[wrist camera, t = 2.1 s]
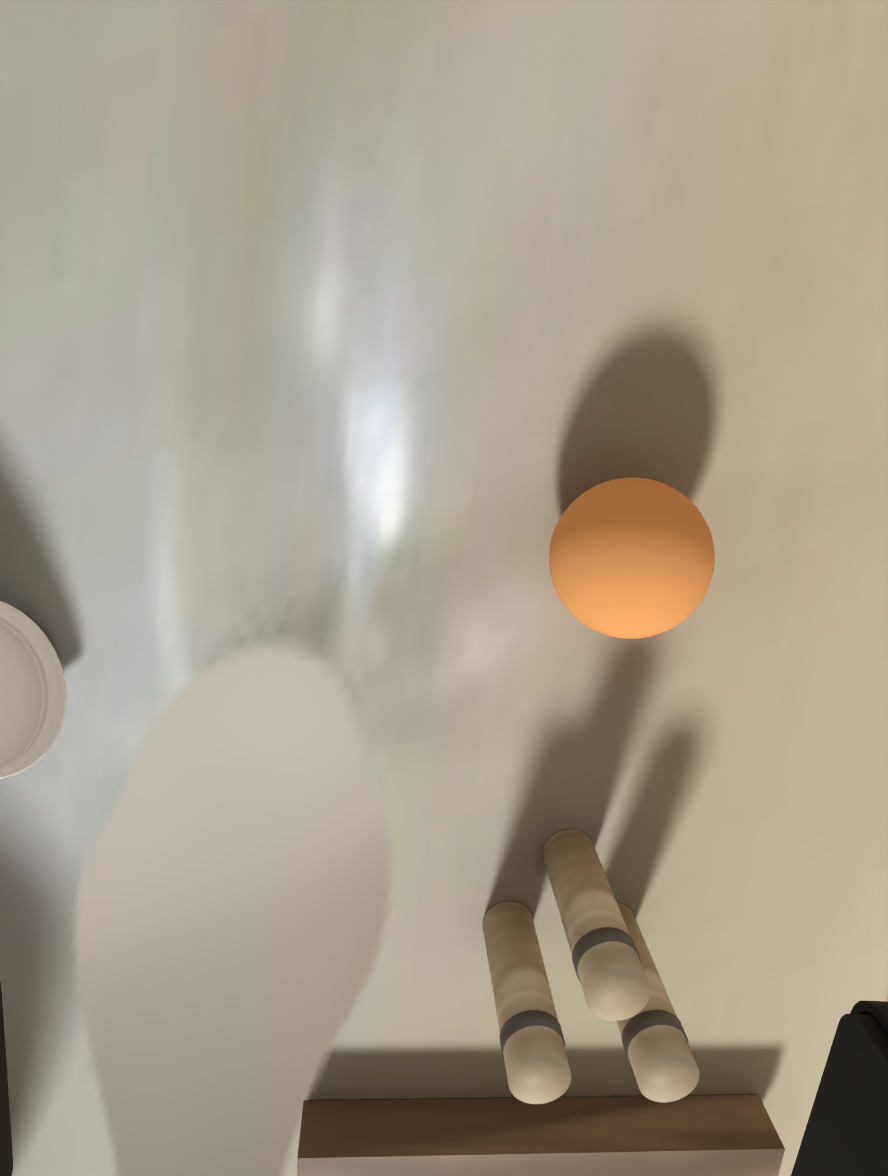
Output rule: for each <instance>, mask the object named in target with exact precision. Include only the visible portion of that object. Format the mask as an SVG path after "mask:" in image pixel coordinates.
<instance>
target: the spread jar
mask: <svg viewBox="0 0 888 1176" xmlns="http://www.w3.org/2000/svg"><path fill="white" fill-rule="evenodd" d="M65 707H66V686H65V678H64V674H63V670H62V666H61V663H60V661H59V658H58V656H57V654H56V651H55V649H54V647H53V646H52V644H51V643H50V641H49V639H48V638H47V636H46V635H45V634H44V632H43V631H42V630H41V629H40V628H39V627H38V626H37V625H36V623H35V622H34V621H32V620H31V619H30V618H29V617H27V616H26V615H25V614H24V613H22V612H21V611H19V610H18V609H16V608H14V607H12V606H11V605H9V604H7V603H4V602H1V601H0V779H2V778H5V777H8V776H12V775H15V774H18V773H20V772H22V771H24V770H25V769H27V768H29V767H31V766H32V765H34V764H35V763H36V762H37V761H38V760H39V759H40V758H42V757H43V756H44V755H45V754H46V752H47V751H48V749H49V748H50V747H51V745H52V744H53V743H54V741H55V739H56V737H57V735H58V733H59V731H60V729H61V726H62V722H63V718H64V714H65Z"/></svg>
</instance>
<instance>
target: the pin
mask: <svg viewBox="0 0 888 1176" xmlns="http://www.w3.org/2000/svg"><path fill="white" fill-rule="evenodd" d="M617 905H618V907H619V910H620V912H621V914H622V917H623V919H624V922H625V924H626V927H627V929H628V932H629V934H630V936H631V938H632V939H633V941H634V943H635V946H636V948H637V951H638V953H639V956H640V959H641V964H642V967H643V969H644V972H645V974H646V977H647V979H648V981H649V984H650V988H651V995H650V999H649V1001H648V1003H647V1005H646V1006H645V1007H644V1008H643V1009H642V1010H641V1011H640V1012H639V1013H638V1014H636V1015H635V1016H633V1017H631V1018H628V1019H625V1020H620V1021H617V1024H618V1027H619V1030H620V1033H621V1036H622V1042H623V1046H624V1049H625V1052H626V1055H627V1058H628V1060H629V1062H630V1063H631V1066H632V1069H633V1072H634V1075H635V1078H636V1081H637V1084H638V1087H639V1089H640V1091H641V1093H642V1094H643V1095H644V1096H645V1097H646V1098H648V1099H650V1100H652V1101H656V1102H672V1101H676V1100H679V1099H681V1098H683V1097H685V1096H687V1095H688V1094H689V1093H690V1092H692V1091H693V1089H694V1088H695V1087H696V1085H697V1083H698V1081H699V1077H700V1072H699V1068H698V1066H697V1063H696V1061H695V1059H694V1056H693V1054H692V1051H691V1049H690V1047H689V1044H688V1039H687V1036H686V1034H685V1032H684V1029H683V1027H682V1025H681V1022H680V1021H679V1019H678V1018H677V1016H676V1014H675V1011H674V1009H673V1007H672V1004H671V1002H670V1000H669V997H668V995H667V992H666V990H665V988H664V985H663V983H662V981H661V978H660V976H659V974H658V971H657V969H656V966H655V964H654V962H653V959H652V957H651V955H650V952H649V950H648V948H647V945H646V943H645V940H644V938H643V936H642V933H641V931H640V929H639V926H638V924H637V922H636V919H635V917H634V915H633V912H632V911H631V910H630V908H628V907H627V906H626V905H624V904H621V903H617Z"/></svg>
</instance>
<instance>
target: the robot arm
mask: <svg viewBox="0 0 888 1176" xmlns="http://www.w3.org/2000/svg"><path fill="white" fill-rule="evenodd" d="M12 1169H13V1155H12V1140H11V1125H10V1110H9V1095H8V1080H7V1066H6V1051H5V1036H4V1021H3V1006H2V991H1V983H0V1176H12ZM791 1176H888V1002H881V1001H859V1002H858V1003H856V1004H855V1005H854V1007H853V1009H852V1011H851V1013H850V1014H845V1015H844V1016H842V1017H841V1019H840V1021H839V1024H838V1027H837V1030H836V1034H835V1037H834V1040H833V1043H832V1046H831V1050H830V1053H829V1056H828V1059H827V1062H826V1066H825V1069H824V1072H823V1075H822V1078H821V1082H820V1085H819V1088H818V1091H817V1094H816V1098H815V1101H814V1104H813V1107H812V1110H811V1114H810V1117H809V1120H808V1123H807V1126H806V1130H805V1133H804V1136H803V1139H802V1142H801V1146H800V1149H799V1152H798V1155H797V1158H796V1162H795V1165H794V1168H793V1171H792V1174H791Z"/></svg>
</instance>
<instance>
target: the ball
mask: <svg viewBox="0 0 888 1176" xmlns="http://www.w3.org/2000/svg"><path fill="white" fill-rule="evenodd" d="M714 561H715V560H714V546H713V540H712V536H711V533H710V530H709V527H708V525H707V523H706V521H705V519H704V517H703V516H702V514H701V513H700V511H699V510H698V508H697V507H696V506H695V505H694V504H693V503H692V502H691V501H690V500H689V499H688V498H687V497H685V496H684V495H683V494H682V493H681V492H679V491H678V490H676V489H674V488H673V487H671V486H669V485H666V484H664V483H661V482H658V481H655V480H651V479H647V478H638V477H631V478H619V479H613V480H610V481H606V482H603V483H601V484H598V485H596V486H594V487H592V488H590V489H589V490H587V491H585V492H584V493H583V494H581V495H580V496H579V497H577V498H576V499H575V500H574V501H573V502H572V503H571V504H570V505H569V507H568V508H567V509H566V510H565V512H564V513H563V515H562V516H561V518H560V519H559V521H558V523H557V525H556V527H555V530H554V532H553V536H552V539H551V544H550V550H549V566H550V574H551V578H552V582H553V584H554V587H555V589H556V592H557V594H558V596H559V598H560V599H561V601H562V603H563V604H564V605H565V607H566V608H567V609H568V610H569V611H570V613H571V614H572V615H573V616H575V617H576V618H577V619H578V620H579V621H580V622H582V623H583V624H584V625H586V626H588V627H590V628H592V629H593V630H595V631H597V632H600V633H602V634H605V635H608V636H613V637H618V638H627V639H634V638H644V637H650V636H653V635H657V634H660V633H662V632H665V631H667V630H669V629H671V628H673V627H675V626H676V625H678V624H679V623H681V622H682V621H683V620H685V619H686V618H687V617H688V616H689V615H690V614H691V613H692V612H693V611H694V610H695V609H696V608H697V606H698V605H699V604H700V602H701V601H702V599H703V597H704V596H705V594H706V592H707V590H708V587H709V584H710V582H711V579H712V574H713V570H714Z"/></svg>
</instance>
